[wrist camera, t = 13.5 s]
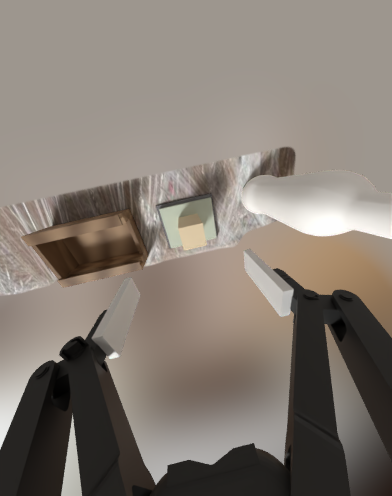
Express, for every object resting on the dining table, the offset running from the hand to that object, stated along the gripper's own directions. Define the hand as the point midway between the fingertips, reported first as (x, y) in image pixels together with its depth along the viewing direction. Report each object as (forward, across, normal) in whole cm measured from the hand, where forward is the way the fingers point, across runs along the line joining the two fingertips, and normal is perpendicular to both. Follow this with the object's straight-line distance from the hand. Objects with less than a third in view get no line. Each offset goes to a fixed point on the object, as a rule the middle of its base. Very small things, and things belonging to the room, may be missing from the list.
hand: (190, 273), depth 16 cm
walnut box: (+21, -20, 0) cm, 29 cm away
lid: (+20, +1, 0) cm, 20 cm away
